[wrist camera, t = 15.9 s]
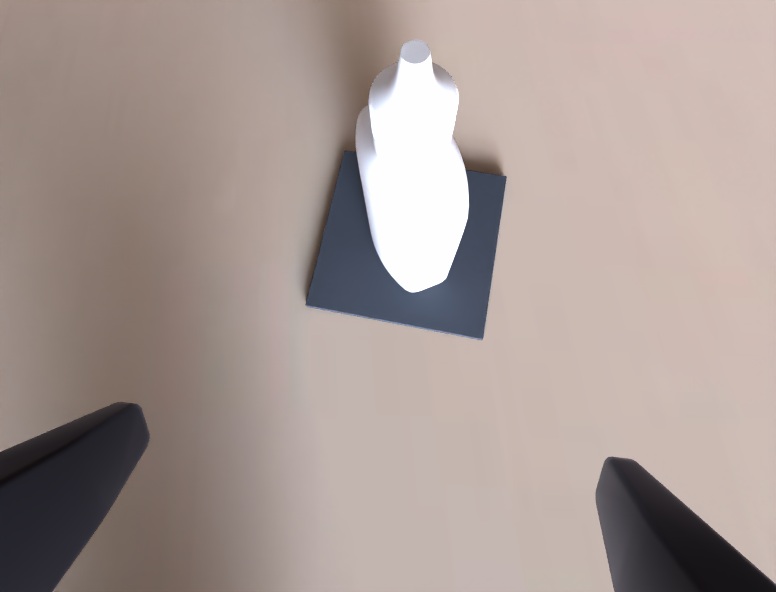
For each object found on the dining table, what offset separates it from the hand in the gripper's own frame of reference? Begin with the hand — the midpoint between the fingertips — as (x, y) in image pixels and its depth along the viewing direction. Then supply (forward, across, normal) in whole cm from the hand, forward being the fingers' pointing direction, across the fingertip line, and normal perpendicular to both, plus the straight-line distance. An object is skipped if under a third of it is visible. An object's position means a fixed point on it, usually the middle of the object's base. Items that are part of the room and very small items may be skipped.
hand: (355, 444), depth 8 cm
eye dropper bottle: (+15, +1, 0) cm, 15 cm away
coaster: (+15, +1, 0) cm, 15 cm away
